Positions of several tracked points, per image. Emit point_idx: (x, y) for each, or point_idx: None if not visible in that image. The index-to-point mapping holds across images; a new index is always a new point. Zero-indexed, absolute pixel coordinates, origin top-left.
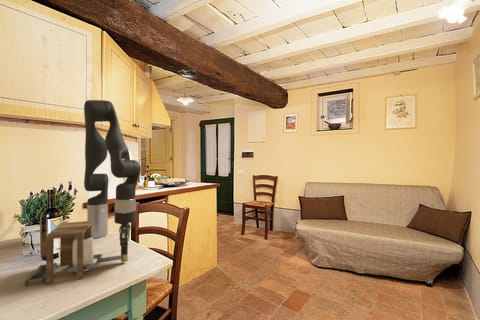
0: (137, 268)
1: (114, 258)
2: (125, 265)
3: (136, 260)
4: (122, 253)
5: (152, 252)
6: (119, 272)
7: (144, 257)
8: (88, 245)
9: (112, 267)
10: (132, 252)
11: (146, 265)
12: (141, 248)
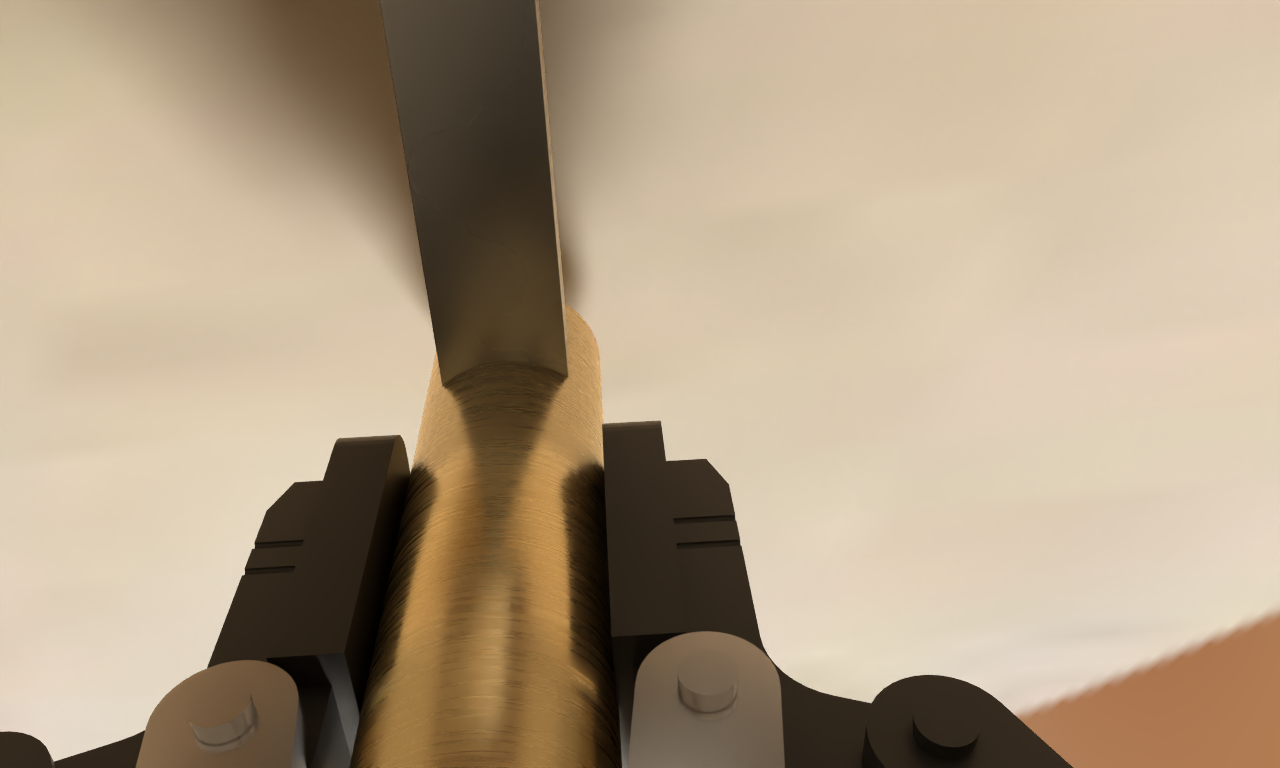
0: (177, 595)
1: (418, 190)
2: (380, 369)
3: None
4: (276, 514)
5: None
6: (10, 297)
7: None
8: None
9: (327, 87)
10: (1122, 423)
11: None
12: (1258, 571)
